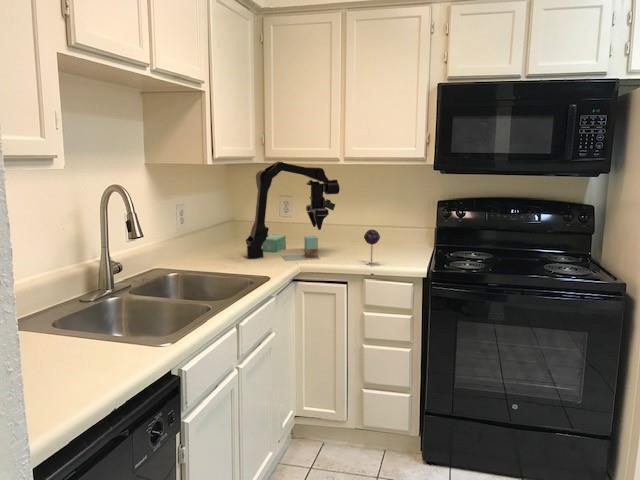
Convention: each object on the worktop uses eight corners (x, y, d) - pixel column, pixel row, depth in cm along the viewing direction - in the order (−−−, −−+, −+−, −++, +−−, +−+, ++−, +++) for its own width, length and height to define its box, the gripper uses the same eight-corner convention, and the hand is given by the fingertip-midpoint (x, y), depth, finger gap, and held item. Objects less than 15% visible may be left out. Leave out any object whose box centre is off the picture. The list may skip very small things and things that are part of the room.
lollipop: (381, 263, 233) (382, 229, 231) (375, 266, 228) (376, 231, 225) (367, 261, 237) (368, 227, 234) (360, 264, 231) (361, 229, 228)
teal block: (307, 249, 238) (307, 238, 237) (304, 247, 242) (304, 236, 241) (317, 248, 239) (317, 237, 238) (315, 246, 244) (315, 236, 243)
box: (261, 253, 253) (261, 238, 252) (272, 248, 266) (272, 234, 264) (276, 254, 251) (276, 239, 250) (286, 249, 264) (286, 234, 262)
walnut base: (307, 258, 238) (307, 249, 238) (304, 255, 243) (304, 247, 242) (317, 257, 240) (317, 248, 239) (315, 255, 244) (315, 246, 244)
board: (285, 263, 232) (285, 260, 232) (280, 257, 244) (280, 255, 244) (321, 261, 237) (321, 259, 236) (314, 255, 248) (314, 253, 248)
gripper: (339, 196, 240) (339, 230, 242) (328, 192, 257) (327, 224, 260) (315, 196, 237) (315, 231, 239) (305, 193, 254) (305, 225, 257)
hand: (316, 228), depth 249 cm, fingers open, 9 cm apart
